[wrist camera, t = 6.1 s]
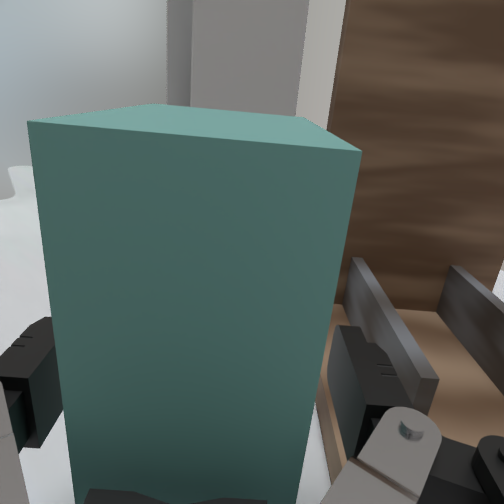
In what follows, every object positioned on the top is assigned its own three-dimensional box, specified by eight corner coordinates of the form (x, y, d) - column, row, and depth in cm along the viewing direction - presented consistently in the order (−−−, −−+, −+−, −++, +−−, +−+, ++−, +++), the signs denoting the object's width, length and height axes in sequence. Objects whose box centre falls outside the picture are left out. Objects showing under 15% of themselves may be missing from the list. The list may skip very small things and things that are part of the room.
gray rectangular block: (256, 215, 57) (280, -35, 45) (282, 226, 53) (315, -43, 41) (166, 228, 48) (167, -74, 37) (188, 243, 44) (196, -89, 33)
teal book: (256, 710, 11) (362, 150, 5) (100, 703, 11) (26, 120, 5) (255, 486, 18) (303, 117, 12) (156, 479, 18) (153, 103, 12)
